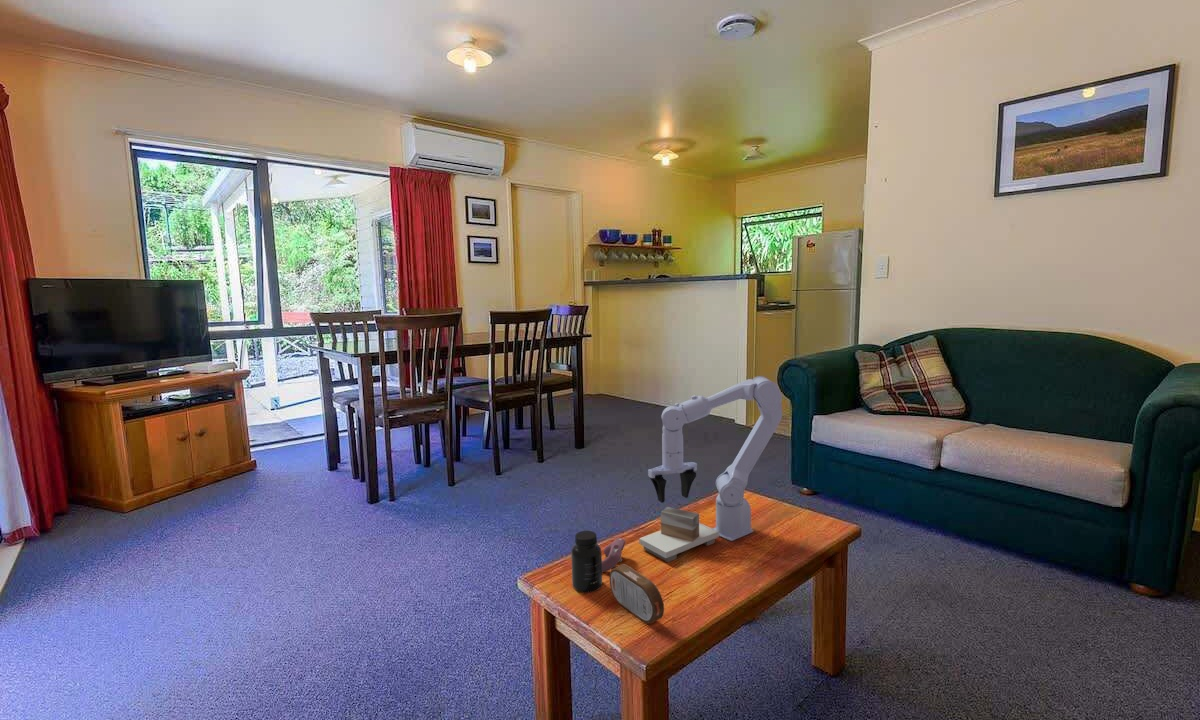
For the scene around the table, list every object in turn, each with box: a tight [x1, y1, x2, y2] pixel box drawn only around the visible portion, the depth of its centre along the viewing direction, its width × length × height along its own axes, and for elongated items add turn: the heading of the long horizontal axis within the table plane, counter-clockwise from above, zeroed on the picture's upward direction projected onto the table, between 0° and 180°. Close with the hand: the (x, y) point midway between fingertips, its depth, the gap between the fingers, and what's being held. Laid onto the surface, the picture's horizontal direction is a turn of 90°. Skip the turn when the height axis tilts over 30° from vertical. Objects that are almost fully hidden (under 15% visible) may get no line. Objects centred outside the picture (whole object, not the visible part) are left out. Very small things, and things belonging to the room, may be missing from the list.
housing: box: [660, 506, 700, 542], centre depth 136 cm, size 4×9×6 cm, turn 56°
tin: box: [609, 563, 665, 625], centre depth 107 cm, size 15×3×8 cm, turn 35°
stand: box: [638, 522, 720, 563], centre depth 136 cm, size 19×10×3 cm, turn 126°
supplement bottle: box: [570, 530, 603, 594], centre depth 117 cm, size 7×7×12 cm
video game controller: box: [602, 537, 626, 573], centre depth 127 cm, size 10×5×7 cm, turn 169°
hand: (673, 499), depth 144 cm, fingers open, 7 cm apart
